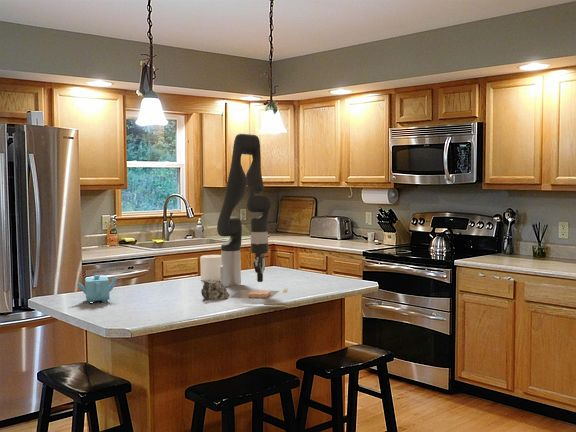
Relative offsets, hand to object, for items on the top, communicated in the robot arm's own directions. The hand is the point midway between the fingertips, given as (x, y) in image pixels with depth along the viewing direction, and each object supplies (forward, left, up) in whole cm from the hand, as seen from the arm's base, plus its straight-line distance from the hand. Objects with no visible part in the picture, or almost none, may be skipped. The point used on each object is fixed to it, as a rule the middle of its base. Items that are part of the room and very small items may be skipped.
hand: (260, 281), depth 278 cm
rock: (-18, -6, -7) cm, 20 cm away
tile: (0, +3, -5) cm, 6 cm away
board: (-3, +3, -7) cm, 8 cm away
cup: (-36, +43, -7) cm, 56 cm away
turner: (+9, +9, -7) cm, 14 cm away
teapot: (-67, -17, -7) cm, 70 cm away
